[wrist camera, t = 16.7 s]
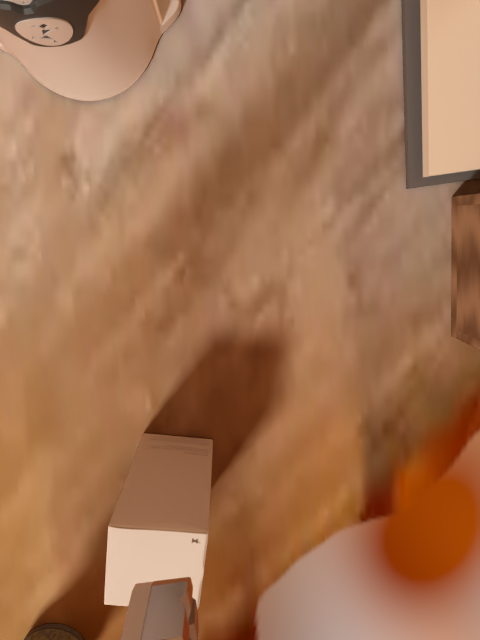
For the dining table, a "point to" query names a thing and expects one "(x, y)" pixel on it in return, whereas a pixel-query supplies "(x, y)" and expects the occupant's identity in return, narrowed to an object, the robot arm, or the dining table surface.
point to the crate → (466, 269)
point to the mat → (417, 103)
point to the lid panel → (450, 86)
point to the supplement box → (160, 517)
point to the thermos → (53, 633)
